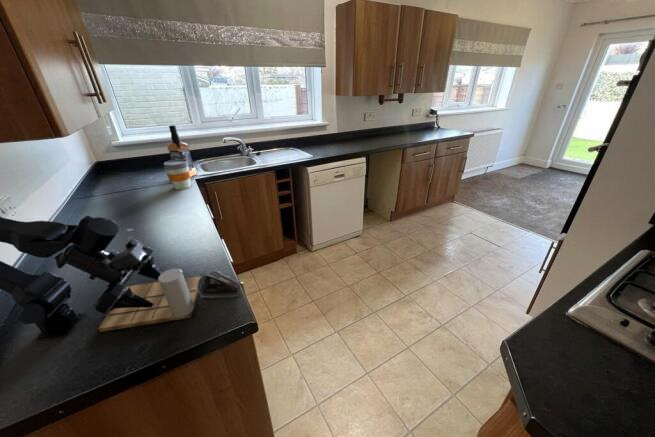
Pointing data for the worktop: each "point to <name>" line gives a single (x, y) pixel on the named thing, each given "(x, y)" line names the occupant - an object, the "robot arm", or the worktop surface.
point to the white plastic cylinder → (176, 292)
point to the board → (147, 314)
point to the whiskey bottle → (180, 150)
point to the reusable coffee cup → (178, 173)
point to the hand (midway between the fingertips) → (160, 292)
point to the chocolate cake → (217, 285)
